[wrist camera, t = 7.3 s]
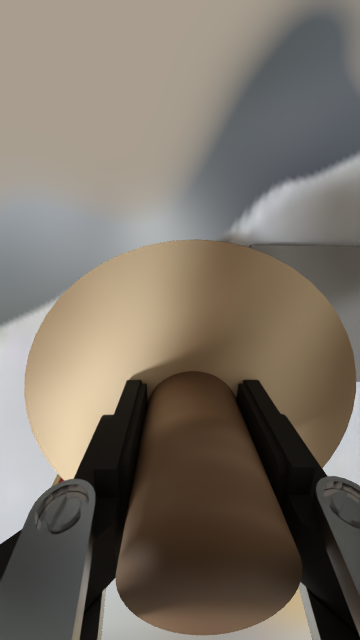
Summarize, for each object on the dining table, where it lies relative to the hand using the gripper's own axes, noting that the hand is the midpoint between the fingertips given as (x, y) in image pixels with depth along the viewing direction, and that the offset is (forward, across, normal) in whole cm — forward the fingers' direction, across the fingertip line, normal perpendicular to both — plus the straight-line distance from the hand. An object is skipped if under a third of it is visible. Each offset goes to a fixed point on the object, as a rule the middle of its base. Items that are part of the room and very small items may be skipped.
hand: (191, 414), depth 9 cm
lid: (+1, 0, 0) cm, 1 cm away
